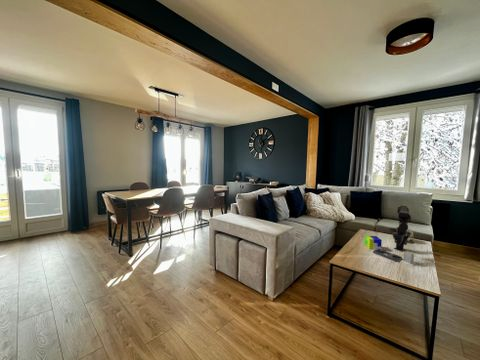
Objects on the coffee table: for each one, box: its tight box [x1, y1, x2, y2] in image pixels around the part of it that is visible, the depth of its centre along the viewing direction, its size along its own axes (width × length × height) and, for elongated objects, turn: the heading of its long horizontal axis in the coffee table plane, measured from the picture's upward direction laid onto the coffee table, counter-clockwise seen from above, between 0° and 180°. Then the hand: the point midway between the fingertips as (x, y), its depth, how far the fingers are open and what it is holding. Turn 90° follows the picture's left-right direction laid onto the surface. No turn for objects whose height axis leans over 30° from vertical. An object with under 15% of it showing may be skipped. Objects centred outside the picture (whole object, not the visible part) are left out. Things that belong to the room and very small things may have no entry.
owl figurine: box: [392, 225, 415, 244], centre depth 209 cm, size 18×12×17 cm, turn 42°
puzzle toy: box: [364, 234, 383, 251], centre depth 190 cm, size 10×10×10 cm
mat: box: [399, 259, 417, 267], centre depth 162 cm, size 8×8×1 cm
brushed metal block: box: [402, 250, 415, 264], centre depth 162 cm, size 5×5×8 cm
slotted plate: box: [372, 248, 403, 263], centre depth 173 cm, size 10×18×2 cm, turn 27°
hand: (401, 244), depth 170 cm, fingers open, 9 cm apart
